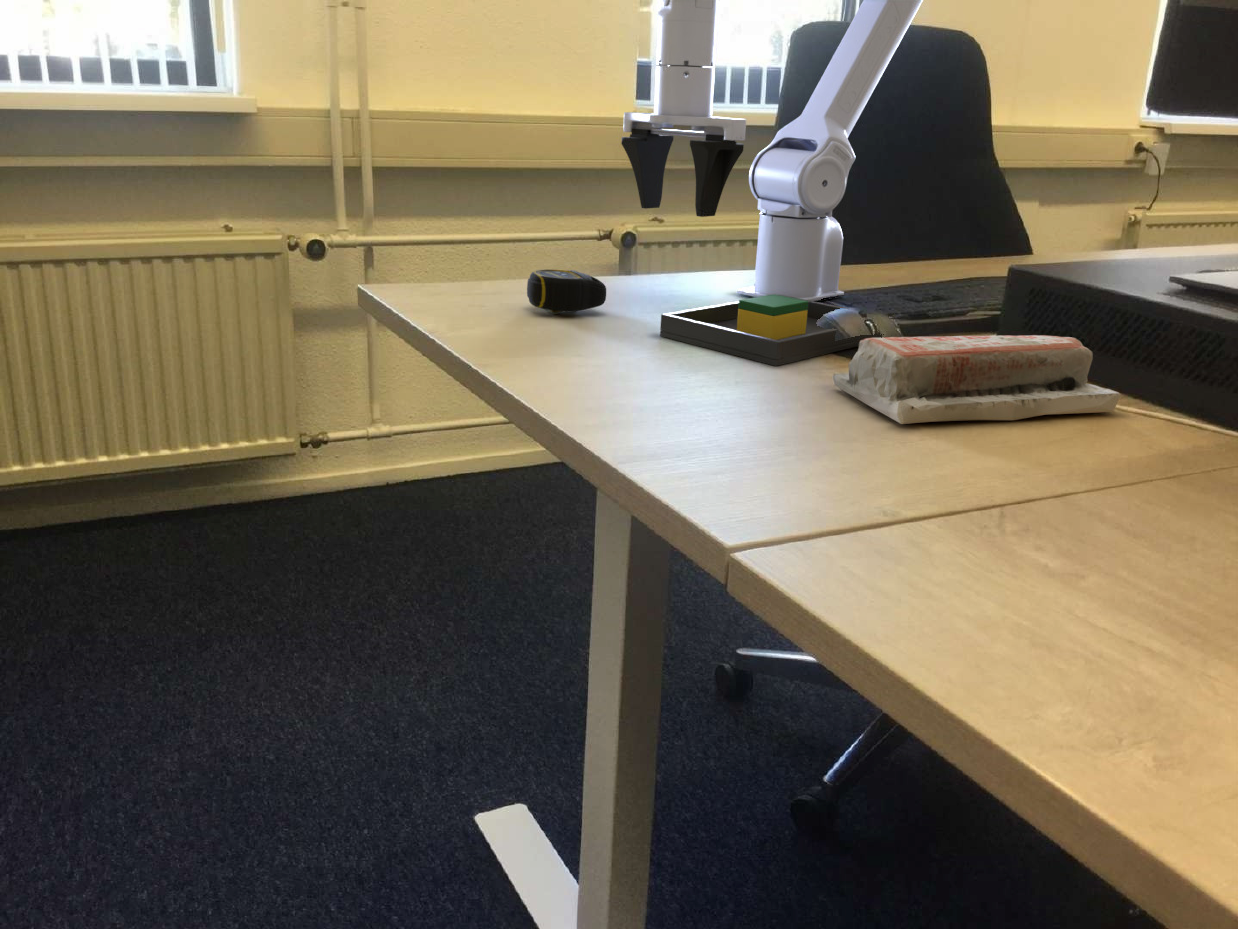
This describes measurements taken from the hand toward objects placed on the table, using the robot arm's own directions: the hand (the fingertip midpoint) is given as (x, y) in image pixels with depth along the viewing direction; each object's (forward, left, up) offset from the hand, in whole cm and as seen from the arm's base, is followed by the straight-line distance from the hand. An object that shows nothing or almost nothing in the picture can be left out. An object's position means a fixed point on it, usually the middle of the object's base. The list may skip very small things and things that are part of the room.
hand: (677, 211), depth 105 cm
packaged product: (+8, +38, -10) cm, 40 cm away
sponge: (+4, +16, -9) cm, 19 cm away
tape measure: (+11, -4, -10) cm, 15 cm away
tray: (+3, +16, -9) cm, 19 cm away
